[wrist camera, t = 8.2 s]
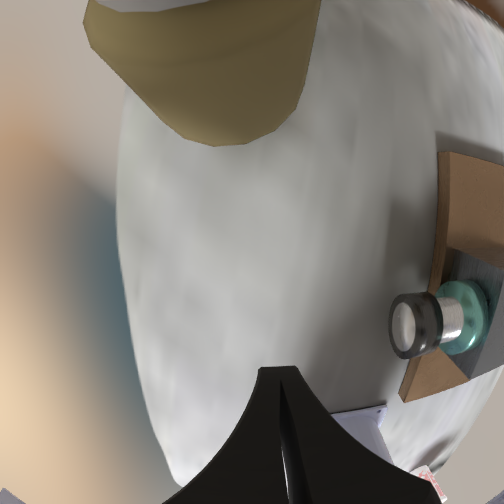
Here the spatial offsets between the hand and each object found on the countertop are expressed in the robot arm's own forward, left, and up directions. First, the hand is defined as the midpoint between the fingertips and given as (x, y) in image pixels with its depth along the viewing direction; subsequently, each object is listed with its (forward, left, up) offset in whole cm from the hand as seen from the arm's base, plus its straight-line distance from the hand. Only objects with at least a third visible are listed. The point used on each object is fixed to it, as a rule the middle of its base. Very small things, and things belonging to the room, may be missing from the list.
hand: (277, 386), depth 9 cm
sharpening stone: (+18, -1, -9) cm, 20 cm away
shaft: (+15, -1, -7) cm, 17 cm away
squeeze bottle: (-2, +13, -10) cm, 16 cm away
